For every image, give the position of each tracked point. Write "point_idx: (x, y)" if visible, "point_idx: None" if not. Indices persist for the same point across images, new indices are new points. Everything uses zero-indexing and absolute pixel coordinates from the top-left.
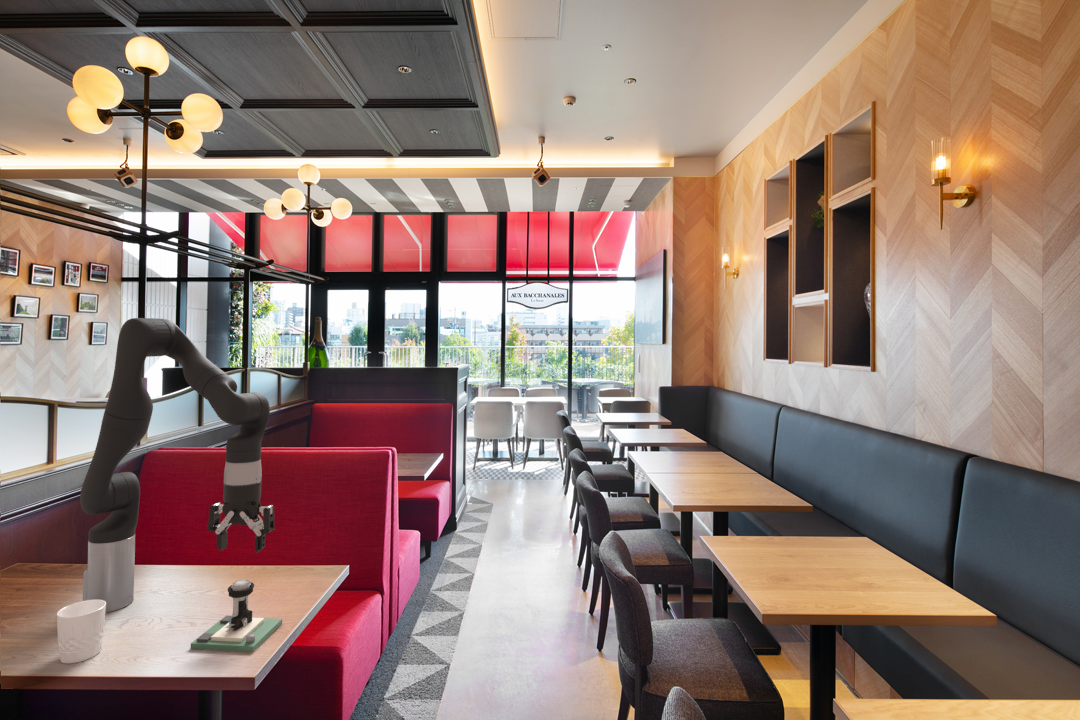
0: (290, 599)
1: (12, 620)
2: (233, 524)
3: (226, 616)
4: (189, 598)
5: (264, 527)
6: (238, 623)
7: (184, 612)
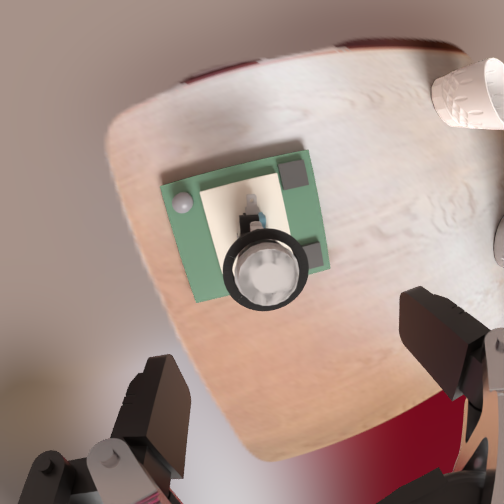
0: (262, 374)
1: None
2: (426, 477)
3: (321, 262)
4: None
5: (50, 496)
6: (239, 221)
7: (420, 261)
